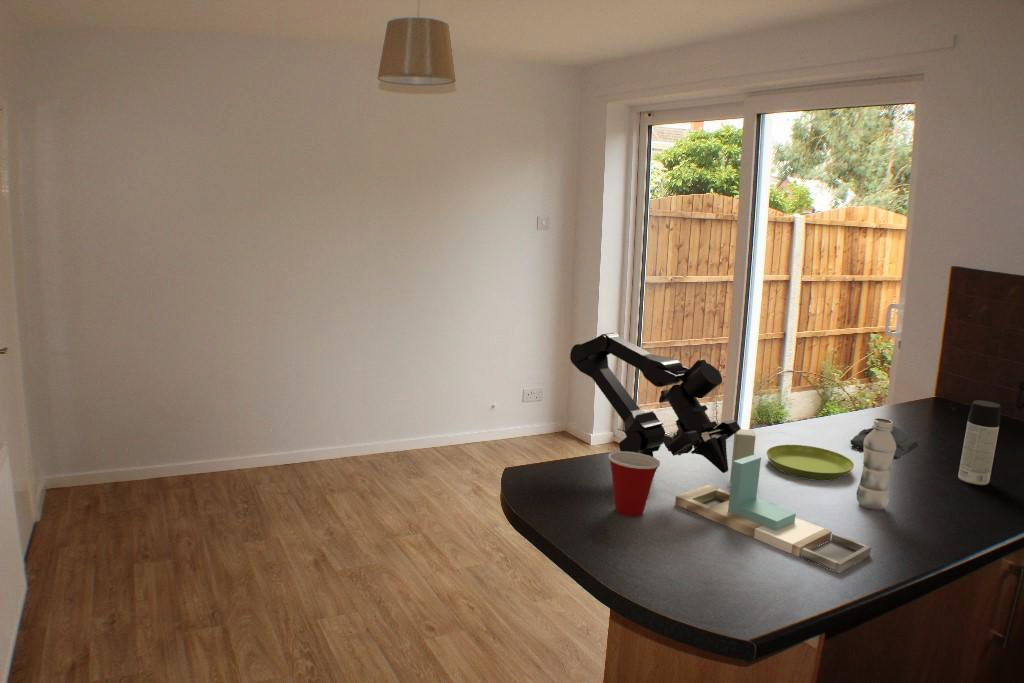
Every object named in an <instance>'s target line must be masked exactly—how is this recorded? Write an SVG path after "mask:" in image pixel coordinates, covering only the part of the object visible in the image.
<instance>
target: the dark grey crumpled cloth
mask: <svg viewBox="0 0 1024 683" xmlns="http://www.w3.org/2000/svg"><path fill="white" fill-rule="evenodd" d="M873 429H874V428H873V427H870V428H867V429H866V428H864V429H862V430H861V431H860V432H858V434H856V435H855V436H854V437H853V438H852V439H851V440H850V444H851V446H852V447H854V448H857V449H861V450H864V447H863V446H864V445H863V443H864V439H865V437H866V436H867V435H868V434H869V433H870V432H871V431H872V430H873ZM890 433H891V435H892V436H893V438H894V440H895V442H896V451H895V454H894V457H893V459H896V460H897V459H901V457H903V456H905V455H907V454H908V453H909V452H911V451H912V450H913V449H914V448H916V447H917V446H919V444H918V442H917V441H916V440H915V439H914V438H910V437H909V436H908V435H906V434H905V432H904V431H903V430H901V428H898V427H896V426H894V425H892V431H890Z"/></svg>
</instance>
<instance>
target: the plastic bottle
mask: <svg viewBox="0 0 1024 683" xmlns="http://www.w3.org/2000/svg"><path fill="white" fill-rule="evenodd" d="M893 422H894V421H893V420H890V419H886V418H880V417H877V418H874V420H873V424H872V428H874V429H873V430H872V431H871V432H870V433H869V434H868V435H867V436H866V437H865V439H864V443H863V445H864V446H863V447H864V449H863V462H862V463H863V466H862V473H861V476H860V480H859V484H858V487H857V490H856V501H857V503H858V504H859V505H861V506H862V507H865V508H867V509H871V510H876V511H877V510H880V511H881V510H884V509H886V508H887V507H888V505H889V503H890V502H889V501H890V488H889V487H890V473H891V468H892V464H893V460H894V458H893V457H894V454H895V451H896V442H895V440H894V438H893V436H892V435H891V433H890V431H892V426H894V425H893Z"/></svg>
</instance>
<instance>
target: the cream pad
mask: <svg viewBox="0 0 1024 683" xmlns="http://www.w3.org/2000/svg"><path fill="white" fill-rule="evenodd" d="M823 529H825V527H821V526H819V525H816V524H813V523H811V522H808V521H805V520H803V519H800V518H798V517H795V523H792V524H790V525H788V526H786V527H783V528H781V529H779V530H777V531H775V530H772V529H770V528H767V527H765V526H760V527H758V528H756V529H755V535H754V538H753V539H755V540H758V541H760V542H762V543H765V544H768V545H769V546H772V547H775V548H777V549H779V550H782V551H784V552H786V553H789V554H791V553H792V545H793V544H794V543H796V542H798V541H801V540H803V539H805V538H807V537H809V536H811V535H813V534H815V533H817V532H819V531H821V530H823Z"/></svg>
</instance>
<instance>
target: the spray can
mask: <svg viewBox="0 0 1024 683" xmlns="http://www.w3.org/2000/svg"><path fill="white" fill-rule="evenodd" d="M1001 411H1002V405H1001V404H999V403H996V402H993V401H988V400H979V399H978V400H973V401H972V403H971V406H970V410H969V413H968V418H967V422H966V428H965V429H966V430H965V435H964V439H963V445H962V452H961V457H960V458H961V459H960V463H959V470H958V474H957V475H958V479H959V480H960V481H962V482H964V483H967V484H973V485H977V486H985V485H989V483H990V481H991V474H992V468H993V463H994V457H995V451H996V446H997V440H998V435H999V429H1000V423H1001Z"/></svg>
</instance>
